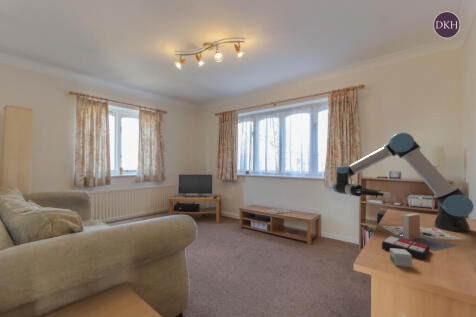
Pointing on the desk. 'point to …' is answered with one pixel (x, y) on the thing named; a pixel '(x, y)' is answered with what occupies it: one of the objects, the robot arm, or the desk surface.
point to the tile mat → (428, 242)
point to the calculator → (406, 247)
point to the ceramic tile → (411, 226)
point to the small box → (400, 257)
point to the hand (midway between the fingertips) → (389, 195)
